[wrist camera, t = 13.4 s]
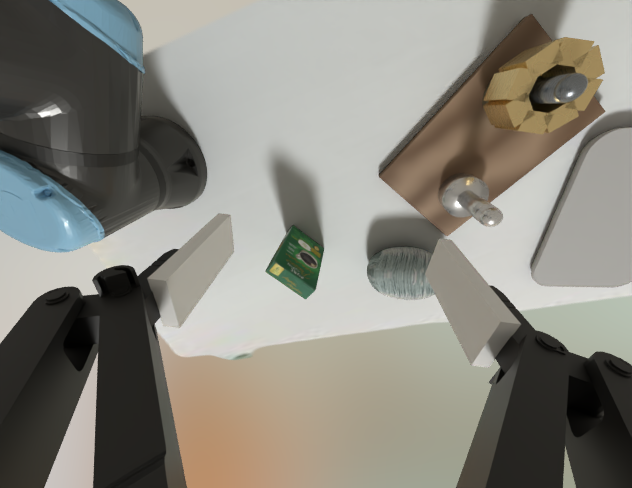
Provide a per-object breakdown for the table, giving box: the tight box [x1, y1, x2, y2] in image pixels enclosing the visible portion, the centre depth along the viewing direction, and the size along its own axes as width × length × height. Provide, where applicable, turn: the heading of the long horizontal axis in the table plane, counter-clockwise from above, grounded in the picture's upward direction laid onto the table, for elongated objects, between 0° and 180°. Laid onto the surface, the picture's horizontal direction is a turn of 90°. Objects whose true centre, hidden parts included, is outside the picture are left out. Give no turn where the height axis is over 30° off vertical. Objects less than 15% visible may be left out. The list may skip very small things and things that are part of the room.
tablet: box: [531, 127, 632, 287], centre depth 38 cm, size 16×26×2 cm, turn 4°
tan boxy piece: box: [483, 37, 605, 135], centre depth 27 cm, size 8×8×5 cm
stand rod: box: [438, 173, 503, 227], centre depth 33 cm, size 6×6×11 cm
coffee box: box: [265, 225, 324, 299], centre depth 42 cm, size 8×3×13 cm, turn 52°
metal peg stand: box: [482, 72, 588, 113], centre depth 27 cm, size 6×6×11 cm
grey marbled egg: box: [367, 247, 435, 300], centre depth 44 cm, size 14×10×10 cm
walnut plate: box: [379, 14, 605, 236], centre depth 35 cm, size 16×24×2 cm, turn 142°
